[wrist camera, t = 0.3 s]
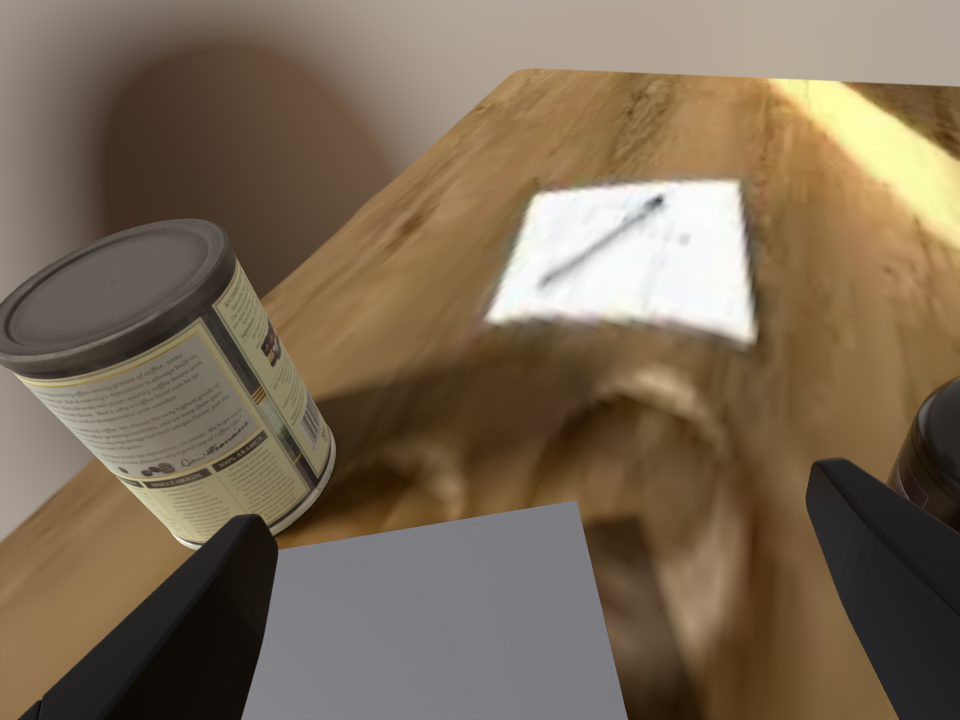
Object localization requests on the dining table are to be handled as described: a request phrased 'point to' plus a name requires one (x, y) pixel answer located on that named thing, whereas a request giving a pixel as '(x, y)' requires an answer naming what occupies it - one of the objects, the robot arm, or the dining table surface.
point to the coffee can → (172, 377)
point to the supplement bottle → (933, 456)
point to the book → (440, 626)
